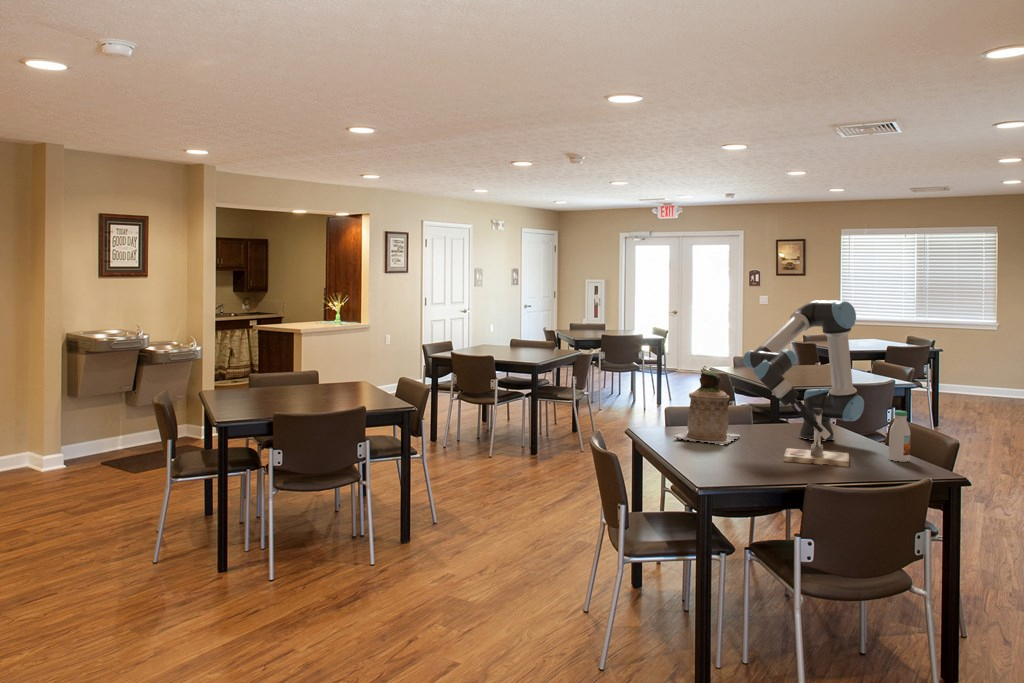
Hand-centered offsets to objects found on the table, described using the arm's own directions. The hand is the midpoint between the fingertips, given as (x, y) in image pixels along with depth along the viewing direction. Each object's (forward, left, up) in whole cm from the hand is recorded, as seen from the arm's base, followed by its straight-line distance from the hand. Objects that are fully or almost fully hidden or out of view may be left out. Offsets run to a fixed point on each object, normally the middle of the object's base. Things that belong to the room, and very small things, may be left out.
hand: (827, 436), depth 325 cm
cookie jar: (-46, -35, -10) cm, 58 cm away
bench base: (-2, -4, -10) cm, 10 cm away
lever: (-2, -4, -7) cm, 8 cm away
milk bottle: (0, +30, -10) cm, 31 cm away
